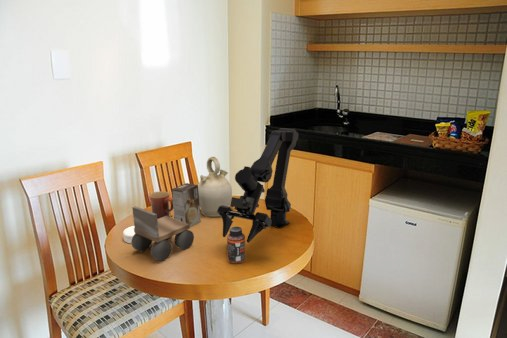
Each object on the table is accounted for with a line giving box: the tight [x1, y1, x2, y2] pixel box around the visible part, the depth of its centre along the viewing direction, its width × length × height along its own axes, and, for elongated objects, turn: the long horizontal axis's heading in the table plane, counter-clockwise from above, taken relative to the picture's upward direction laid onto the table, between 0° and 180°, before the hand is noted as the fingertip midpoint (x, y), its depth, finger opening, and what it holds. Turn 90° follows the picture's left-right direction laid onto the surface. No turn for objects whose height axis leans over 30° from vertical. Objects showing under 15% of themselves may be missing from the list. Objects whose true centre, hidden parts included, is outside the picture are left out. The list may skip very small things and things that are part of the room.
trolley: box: [130, 206, 195, 262], centre depth 137 cm, size 17×13×17 cm
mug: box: [148, 190, 174, 219], centre depth 165 cm, size 12×9×10 cm
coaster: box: [122, 225, 135, 244], centre depth 148 cm, size 10×10×4 cm
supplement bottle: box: [226, 226, 246, 264], centre depth 129 cm, size 6×6×11 cm
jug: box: [197, 156, 233, 218], centre depth 168 cm, size 15×16×25 cm
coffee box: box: [171, 182, 201, 228], centre depth 158 cm, size 9×6×16 cm
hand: (235, 239), depth 128 cm, fingers open, 9 cm apart
